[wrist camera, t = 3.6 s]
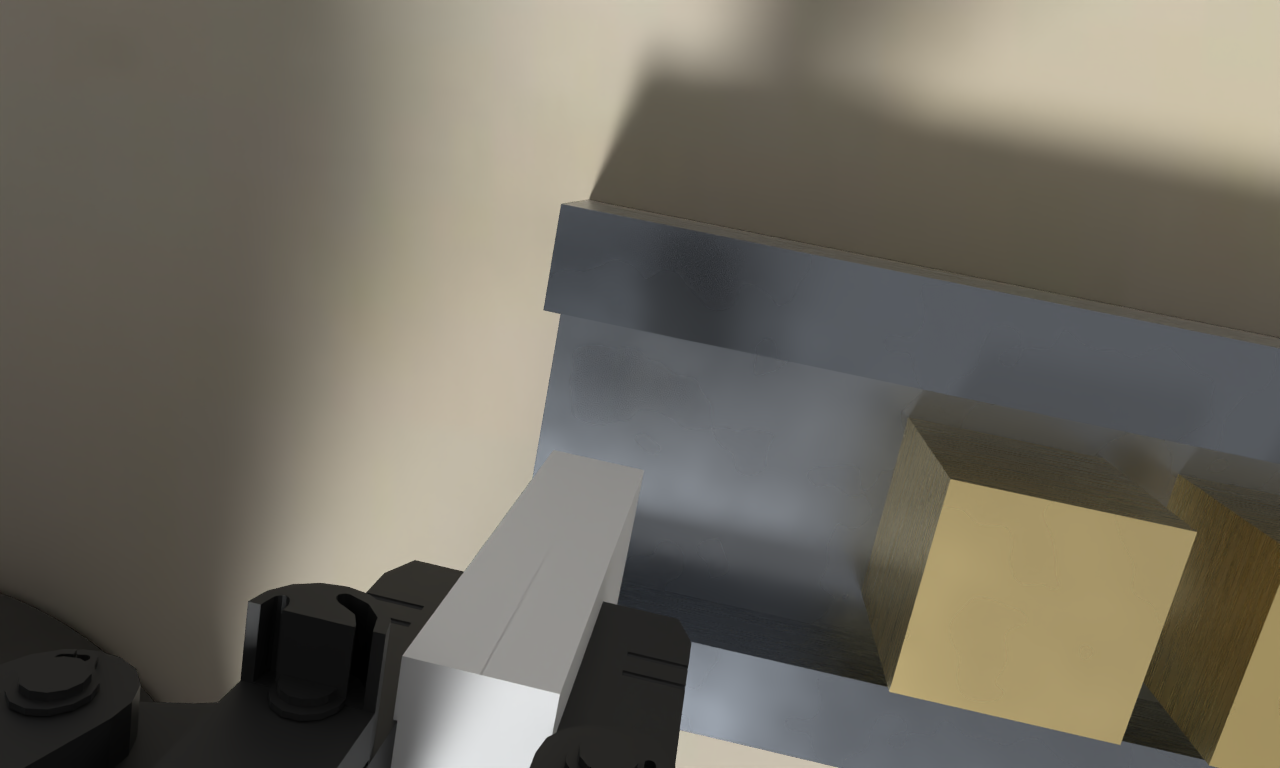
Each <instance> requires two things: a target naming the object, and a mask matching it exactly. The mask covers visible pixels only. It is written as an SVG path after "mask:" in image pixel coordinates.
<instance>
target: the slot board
mask: <svg viewBox="0 0 1280 768" xmlns="http://www.w3.org/2000/svg"><path fill="white" fill-rule="evenodd" d="M544 310H545V311H550V312H554V313H559V314H561V315H560V321H559V327H558V333H557V339H556V345H555V350H554V356H553V362H552V368H551V374H550V379H549V385H548V391H547V397H546V403H545V409H544V414H543V420H542V426H541V432H540V438H539V444H538V449H537V455H536V461H535V467H534V473H533V477H534V476H535V474H536V473H537V472H538V470H539V469H540V468H541V466H542V465H543V464H544V462H545V461H546V460H547V458H548V457H549V455H550V454H551V453H552V451H553V450H556V451H560V452H565V453H569V454H574V455H578V456H583V457H587V458H592V459H596V460H601V461H605V462H610V463H614V464H619V465H623V466H628V467H632V468H637V469H641V470H644V474H643V479H642V484H641V489H640V494H639V499H638V504H637V508H636V513H635V518H634V523H633V528H632V533H631V538H630V543H629V548H628V553H627V558H626V563H625V568H624V573H623V578H622V583H621V588H620V592H619V597H618V602H617V605H621V606H625V607H629V608H634V609H638V610H642V611H647V612H651V613H655V614H659V615H664V616H668V617H672V618H676V619H679V621H680V623H681V625H682V626H683V628H684V630H685V632H686V633H687V635H688V637H689V639H690V641H691V642H692V643H691V650H690V658H689V665H688V673H687V680H686V687H685V695H684V702H683V709H682V717H681V724H680V730H682V731H686V732H690V733H695V734H699V735H703V736H707V737H712V738H716V739H720V740H724V741H729V742H733V743H737V744H741V745H745V746H750V747H754V748H758V749H762V750H767V751H771V752H775V753H779V754H784V755H788V756H792V757H796V758H800V759H805V760H809V761H813V762H817V763H822V764H826V765H830V766H834V767H839V768H1218V767H1214V766H1209V765H1208V764H1207V762H1206V761H1205V760H1204V759H1203V757H1202V756H1201V755H1200V753H1199V752H1198V751H1197V750H1196V748H1195V747H1194V746H1193V745H1192V743H1191V742H1190V741H1189V739H1188V738H1187V737H1186V736H1185V734H1184V733H1183V732H1182V731H1181V729H1180V728H1179V727H1178V725H1177V724H1176V723H1175V722H1174V720H1173V719H1172V718H1171V717H1170V715H1169V714H1168V713H1167V712H1166V710H1165V709H1164V708H1163V706H1162V705H1161V704H1160V703H1159V701H1158V700H1157V699H1156V698H1155V696H1154V695H1153V694H1152V692H1151V691H1150V690H1149V689H1148V687H1147V686H1146V685H1145V684H1144V682H1143V684H1142V687H1141V689H1140V692H1139V695H1138V698H1137V700H1136V703H1135V706H1134V709H1133V711H1132V714H1131V717H1130V720H1129V722H1128V725H1127V728H1126V731H1125V734H1124V736H1123V739H1122V742H1121V745H1118V744H1114V743H1109V742H1105V741H1101V740H1096V739H1092V738H1088V737H1083V736H1079V735H1075V734H1070V733H1066V732H1062V731H1057V730H1053V729H1049V728H1044V727H1040V726H1036V725H1031V724H1027V723H1023V722H1018V721H1014V720H1010V719H1005V718H1001V717H997V716H992V715H988V714H984V713H979V712H975V711H970V710H966V709H962V708H957V707H953V706H949V705H944V704H940V703H936V702H931V701H927V700H923V699H918V698H914V697H910V696H905V695H901V694H897V693H892V692H889V689H888V686H887V682H886V679H885V675H884V671H883V668H882V664H881V661H880V657H879V654H878V650H877V647H876V643H875V639H874V636H873V632H872V629H871V625H870V622H869V618H868V614H867V611H866V607H865V604H864V600H863V597H862V593H861V590H862V586H863V582H864V579H865V575H866V571H867V568H868V564H869V560H870V556H871V553H872V549H873V545H874V542H875V538H876V534H877V531H878V527H879V523H880V520H881V516H882V512H883V509H884V505H885V501H886V498H887V494H888V490H889V487H890V483H891V479H892V475H893V472H894V468H895V464H896V461H897V457H898V453H899V450H900V446H901V442H902V439H903V435H904V431H905V428H906V424H907V420H908V417H910V418H915V419H920V420H925V421H929V422H934V423H939V424H944V425H948V426H953V427H958V428H962V429H967V430H972V431H977V432H981V433H986V434H991V435H996V436H1000V437H1005V438H1010V439H1015V440H1019V441H1024V442H1029V443H1034V444H1038V445H1043V446H1048V447H1053V448H1057V449H1062V450H1067V451H1071V452H1076V453H1081V454H1086V455H1090V456H1095V457H1100V458H1104V459H1105V460H1106V461H1108V462H1109V463H1110V464H1112V465H1113V466H1114V467H1115V468H1117V469H1118V470H1119V471H1120V472H1122V473H1123V474H1124V475H1126V476H1127V477H1128V478H1129V479H1131V480H1132V481H1133V482H1134V483H1136V484H1137V485H1138V486H1139V487H1141V488H1142V489H1143V490H1145V491H1146V492H1147V493H1148V494H1150V495H1151V496H1152V497H1153V498H1155V499H1156V500H1157V501H1159V502H1160V503H1161V504H1162V505H1164V506H1165V507H1166V508H1167V505H1168V502H1169V499H1170V496H1171V493H1172V491H1173V488H1174V485H1175V482H1176V479H1177V476H1178V474H1181V475H1185V476H1190V477H1195V478H1199V479H1204V480H1209V481H1214V482H1218V483H1223V484H1228V485H1233V486H1237V487H1242V488H1247V489H1252V490H1256V491H1261V492H1266V493H1271V494H1275V495H1280V338H1276V337H1271V336H1266V335H1261V334H1256V333H1251V332H1246V331H1241V330H1236V329H1232V328H1227V327H1222V326H1217V325H1212V324H1207V323H1202V322H1197V321H1192V320H1187V319H1182V318H1177V317H1172V316H1167V315H1162V314H1157V313H1152V312H1147V311H1142V310H1137V309H1132V308H1127V307H1122V306H1117V305H1112V304H1107V303H1102V302H1097V301H1092V300H1087V299H1082V298H1077V297H1072V296H1067V295H1062V294H1057V293H1052V292H1047V291H1042V290H1037V289H1032V288H1027V287H1022V286H1017V285H1012V284H1007V283H1002V282H997V281H992V280H987V279H982V278H977V277H972V276H967V275H962V274H957V273H952V272H947V271H942V270H937V269H932V268H927V267H922V266H917V265H912V264H907V263H902V262H897V261H892V260H887V259H882V258H877V257H872V256H867V255H862V254H857V253H852V252H847V251H842V250H837V249H832V248H827V247H822V246H817V245H812V244H807V243H802V242H797V241H792V240H787V239H782V238H777V237H772V236H767V235H762V234H757V233H752V232H747V231H742V230H737V229H732V228H727V227H722V226H717V225H712V224H708V223H703V222H698V221H693V220H688V219H683V218H678V217H673V216H668V215H663V214H658V213H653V212H648V211H643V210H638V209H633V208H628V207H623V206H618V205H613V204H608V203H603V202H598V201H593V200H583V201H576V202H570V203H563V204H561V209H560V215H559V221H558V227H557V233H556V239H555V245H554V251H553V257H552V263H551V269H550V274H549V280H548V286H547V292H546V298H545V304H544ZM532 479H533V478H532Z"/></svg>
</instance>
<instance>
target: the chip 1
mask: <svg viewBox="0 0 1280 768" xmlns="http://www.w3.org/2000/svg"><path fill="white" fill-rule="evenodd" d="M1196 535H1197V531H1195V530H1194V529H1193V528H1192V527H1190V526H1189V525H1188V524H1186V523H1185V522H1184V521H1183V520H1181V519H1180V518H1179V517H1178V516H1176V515H1175V514H1174V513H1172V512H1171V511H1170V510H1169V509H1167V508H1166V507H1165V506H1164V505H1162V504H1161V503H1160V502H1159V501H1157V500H1156V499H1155V498H1153V497H1152V496H1151V495H1150V494H1148V493H1147V492H1146V491H1145V490H1143V489H1142V488H1141V487H1139V486H1138V485H1137V484H1136V483H1134V482H1133V481H1132V480H1131V479H1129V478H1128V477H1127V476H1126V475H1124V474H1123V473H1122V472H1120V471H1119V470H1118V469H1117V468H1115V467H1114V466H1113V465H1112V464H1110V463H1109V462H1108V461H1106V460H1105V459H1104V458H1100V457H1095V456H1090V455H1086V454H1081V453H1076V452H1071V451H1067V450H1062V449H1057V448H1053V447H1048V446H1043V445H1038V444H1034V443H1029V442H1024V441H1019V440H1015V439H1010V438H1005V437H1000V436H996V435H991V434H986V433H981V432H977V431H972V430H967V429H962V428H958V427H953V426H948V425H944V424H939V423H934V422H929V421H925V420H920V419H915V418H910V417H908V420H907V424H906V428H905V431H904V435H903V439H902V442H901V446H900V450H899V453H898V457H897V461H896V464H895V468H894V472H893V475H892V479H891V483H890V487H889V490H888V494H887V498H886V501H885V505H884V509H883V512H882V516H881V520H880V523H879V527H878V531H877V534H876V538H875V542H874V545H873V549H872V553H871V556H870V560H869V564H868V568H867V571H866V575H865V579H864V582H863V586H862V590H861V593H862V597H863V600H864V604H865V607H866V611H867V614H868V618H869V622H870V625H871V629H872V632H873V636H874V639H875V643H876V647H877V650H878V654H879V657H880V661H881V664H882V668H883V671H884V675H885V679H886V682H887V686H888V689H889V692H892V693H897V694H901V695H905V696H910V697H914V698H918V699H923V700H927V701H931V702H936V703H940V704H944V705H949V706H953V707H957V708H962V709H966V710H970V711H975V712H979V713H984V714H988V715H992V716H997V717H1001V718H1005V719H1010V720H1014V721H1018V722H1023V723H1027V724H1031V725H1036V726H1040V727H1044V728H1049V729H1053V730H1057V731H1062V732H1066V733H1070V734H1075V735H1079V736H1083V737H1088V738H1092V739H1096V740H1101V741H1105V742H1109V743H1114V744H1118V745H1121V742H1122V739H1123V736H1124V734H1125V731H1126V728H1127V725H1128V722H1129V720H1130V717H1131V714H1132V711H1133V709H1134V706H1135V703H1136V700H1137V698H1138V695H1139V692H1140V689H1141V687H1142V684H1143V681H1144V678H1145V675H1146V673H1147V670H1148V667H1149V664H1150V662H1151V659H1152V656H1153V653H1154V651H1155V648H1156V645H1157V642H1158V640H1159V637H1160V634H1161V631H1162V628H1163V626H1164V623H1165V620H1166V617H1167V615H1168V612H1169V609H1170V606H1171V604H1172V601H1173V598H1174V595H1175V593H1176V590H1177V587H1178V584H1179V582H1180V579H1181V576H1182V573H1183V570H1184V568H1185V565H1186V562H1187V559H1188V557H1189V554H1190V551H1191V548H1192V546H1193V543H1194V540H1195V537H1196Z"/></svg>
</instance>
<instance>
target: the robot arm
mask: <svg viewBox="0 0 1280 768" xmlns="http://www.w3.org/2000/svg"><path fill="white" fill-rule="evenodd" d="M643 474H644V470H641V469H637V468H632V467H628V466H623V465H619V464H614V463H610V462H605V461H601V460H596V459H592V458H587V457H583V456H578V455H574V454H569V453H565V452H560V451H556V450H553V451H552V453H551V454H550V455H549V457H548V458H547V460H546V461H545V462H544V464H543V465H542V466H541V468H540V469H539V470H538V472H537V473H536V474H535V476H534V477H533V479H532V480H531V481H530V483H529V484H528V485H527V487H526V488H525V489H524V491H523V492H522V494H521V495H520V496H519V498H518V499H517V500H516V502H515V503H514V504H513V506H512V507H511V508H510V510H509V511H508V513H507V514H506V515H505V517H504V518H503V519H502V521H501V522H500V523H499V525H498V526H497V528H496V529H495V530H494V532H493V533H492V534H491V536H490V537H489V538H488V540H487V541H486V542H485V544H484V545H483V547H482V548H481V549H480V551H479V552H478V553H477V555H476V556H475V557H474V559H473V560H472V562H471V563H470V564H469V566H468V567H467V568H466V570H465V571H464V572H463V571H459V570H454V569H450V568H446V567H442V566H437V565H433V564H429V563H425V562H420V561H416V560H414V561H412V562H410V563H407V564H405V565H403V566H400V567H398V568H395V569H393V570H391V571H388V572H386V573H384V574H383V575H382V576H381V577H380V578H379V580H378V581H377V582H376V583H375V584H374V585H373V586H372V587H371V588H370V589H369V590H368V591H367V592H366V593H364V592H361V591H358V590H356V589H353V588H350V587H347V586H339V585H332V584H324V583H311V584H292V585H288V586H284V587H280V588H276V589H272V590H268V591H266V592H264V593H263V594H261V595H259V596H257V597H255V598H254V599H252V600H250V601H248V609H247V619H246V630H245V640H244V650H243V661H242V671H241V681H240V682H239V683H238V684H237V685H236V686H235V687H234V688H233V689H232V690H230V691H229V692H228V693H227V694H226V695H225V696H224V697H223V698H222V699H221V700H220V701H219V702H218V703H195V704H193V703H159V702H154V701H153V700H152V699H151V697H150V696H149V695H148V694H147V693H146V692H145V691H144V690H143V689H142V688H141V684H140V681H139V677H138V674H137V670H136V669H135V668H134V667H133V666H131V665H130V664H129V663H127V662H126V661H125V660H123V659H122V658H121V657H117V656H114V655H110V654H106V653H104V652H103V651H102V650H100V649H99V648H98V647H97V646H95V645H94V644H93V643H91V642H90V641H89V640H87V639H86V638H85V637H83V636H82V635H80V634H79V633H77V632H76V631H74V630H73V629H71V628H70V627H68V626H67V625H65V624H63V623H61V622H60V621H58V620H56V619H55V618H53V617H51V616H49V615H48V614H46V613H44V612H42V611H40V610H38V609H36V608H34V607H32V606H30V605H28V604H25V603H23V602H21V601H18V600H16V599H14V598H11V597H9V596H6V595H3V594H1V593H0V768H675V761H676V754H677V746H678V739H679V731H680V724H681V717H682V709H683V702H684V695H685V687H686V680H687V673H688V665H689V658H690V650H691V643H692V642H691V641H690V639H689V637H688V635H687V633H686V632H685V630H684V628H683V626H682V625H681V623H680V621H679V619H676V618H672V617H668V616H664V615H659V614H655V613H651V612H647V611H642V610H638V609H634V608H629V607H625V606H621V605H617V602H618V597H619V592H620V588H621V583H622V578H623V573H624V568H625V563H626V558H627V553H628V548H629V543H630V538H631V533H632V528H633V523H634V518H635V513H636V508H637V504H638V499H639V494H640V489H641V484H642V479H643Z"/></svg>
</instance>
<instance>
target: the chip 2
mask: <svg viewBox="0 0 1280 768" xmlns="http://www.w3.org/2000/svg"><path fill="white" fill-rule="evenodd" d="M1167 509H1169V510H1170V511H1171V512H1172V513H1174V514H1175V515H1176V516H1178V517H1179V518H1180V519H1181V520H1183V521H1184V522H1185V523H1186V524H1188V525H1189V526H1190V527H1192V528H1193V529H1194V530H1195V531H1197V535H1196V537H1195V540H1194V543H1193V546H1192V548H1191V551H1190V554H1189V557H1188V559H1187V562H1186V565H1185V568H1184V570H1183V573H1182V576H1181V579H1180V582H1179V584H1178V587H1177V590H1176V593H1175V595H1174V598H1173V601H1172V604H1171V606H1170V609H1169V612H1168V615H1167V617H1166V620H1165V623H1164V626H1163V628H1162V631H1161V634H1160V637H1159V640H1158V642H1157V645H1156V648H1155V651H1154V653H1153V656H1152V659H1151V662H1150V664H1149V667H1148V670H1147V673H1146V675H1145V678H1144V681H1143V682H1144V684H1145V685H1146V686H1147V687H1148V689H1149V690H1150V691H1151V692H1152V694H1153V695H1154V696H1155V698H1156V699H1157V700H1158V701H1159V703H1160V704H1161V705H1162V706H1163V708H1164V709H1165V710H1166V712H1167V713H1168V714H1169V715H1170V717H1171V718H1172V719H1173V720H1174V722H1175V723H1176V724H1177V725H1178V727H1179V728H1180V729H1181V731H1182V732H1183V733H1184V734H1185V736H1186V737H1187V738H1188V739H1189V741H1190V742H1191V743H1192V745H1193V746H1194V747H1195V748H1196V750H1197V751H1198V752H1199V753H1200V755H1201V756H1202V757H1203V759H1204V760H1205V761H1206V762H1207V764H1208V765H1209V766H1214V767H1218V768H1280V495H1275V494H1271V493H1266V492H1261V491H1256V490H1252V489H1247V488H1242V487H1237V486H1233V485H1228V484H1223V483H1218V482H1214V481H1209V480H1204V479H1199V478H1195V477H1190V476H1185V475H1181V474H1178V476H1177V479H1176V482H1175V485H1174V488H1173V491H1172V493H1171V496H1170V499H1169V502H1168V505H1167Z"/></svg>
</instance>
